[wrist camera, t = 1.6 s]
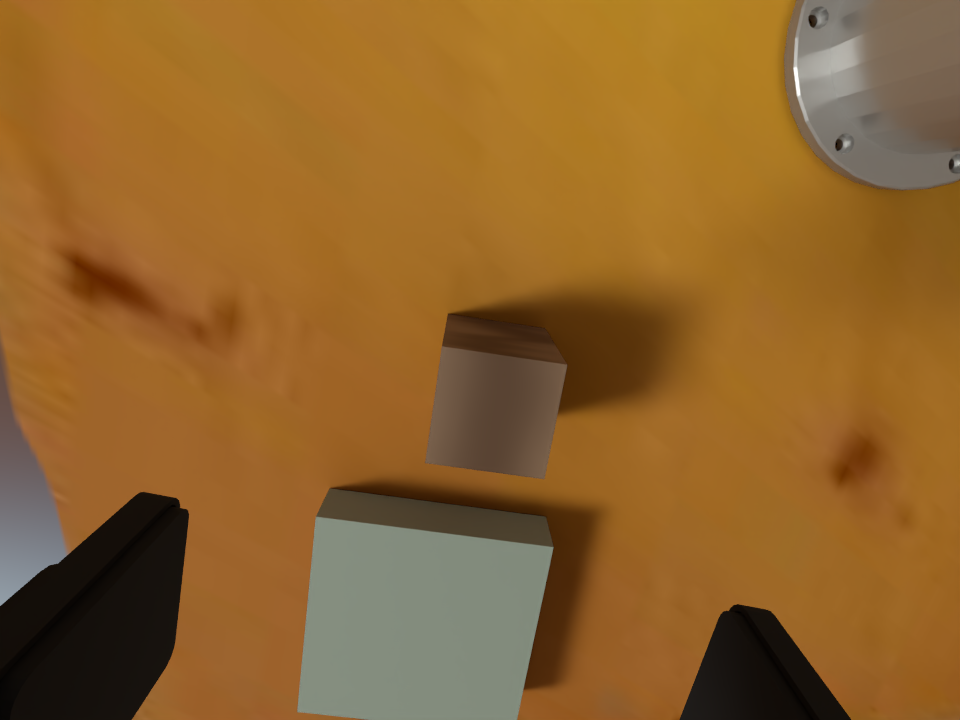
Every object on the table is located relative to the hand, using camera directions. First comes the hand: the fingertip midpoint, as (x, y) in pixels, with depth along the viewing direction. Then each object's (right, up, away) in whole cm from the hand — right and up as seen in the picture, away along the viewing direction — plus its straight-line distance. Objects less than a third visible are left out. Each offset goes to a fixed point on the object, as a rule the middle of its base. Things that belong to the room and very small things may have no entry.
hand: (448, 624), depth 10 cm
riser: (-3, -9, +24) cm, 26 cm away
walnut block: (+1, +4, +20) cm, 21 cm away
